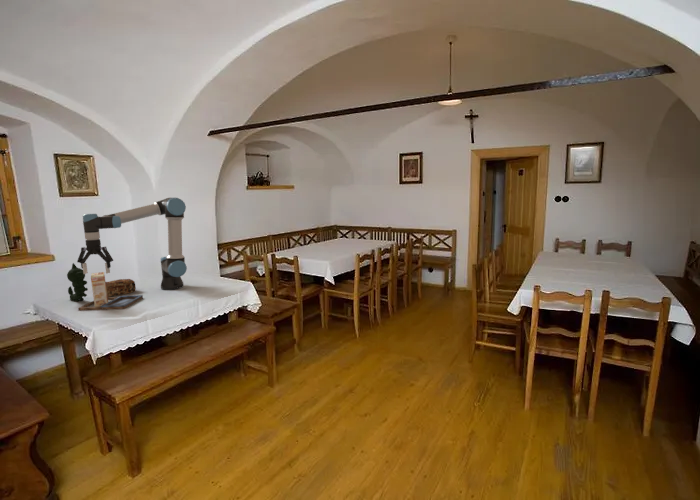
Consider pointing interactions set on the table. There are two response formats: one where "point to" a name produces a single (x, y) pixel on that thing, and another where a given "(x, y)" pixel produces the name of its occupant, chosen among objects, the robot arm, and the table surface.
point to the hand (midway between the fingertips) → (96, 273)
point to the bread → (120, 287)
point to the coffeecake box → (99, 289)
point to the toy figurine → (77, 283)
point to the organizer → (114, 303)
